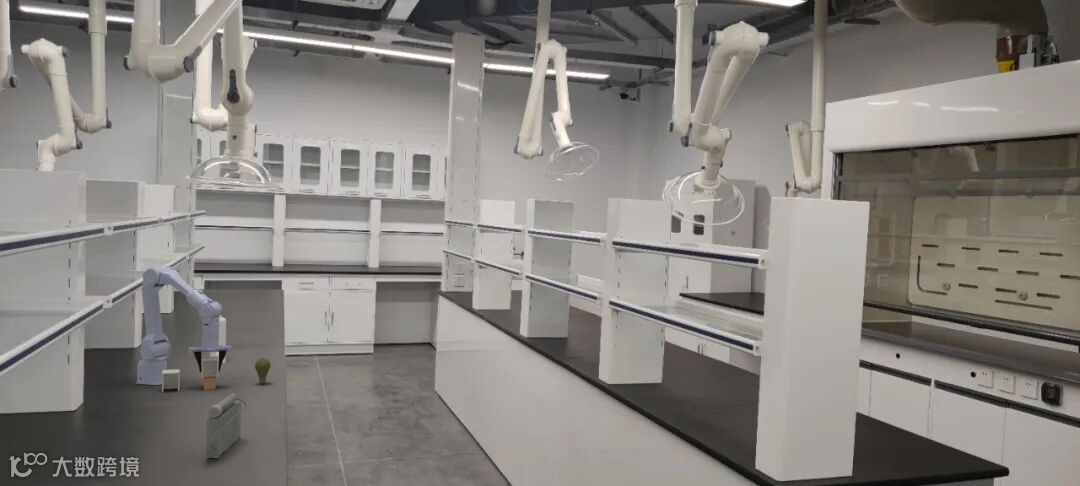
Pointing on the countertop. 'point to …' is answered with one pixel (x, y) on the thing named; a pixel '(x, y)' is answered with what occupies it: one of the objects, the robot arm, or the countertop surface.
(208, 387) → the cube
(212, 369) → the right cover
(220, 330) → the white bottle
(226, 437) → the geiger counter
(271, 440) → the countertop surface
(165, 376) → the left cover
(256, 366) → the light bulb
